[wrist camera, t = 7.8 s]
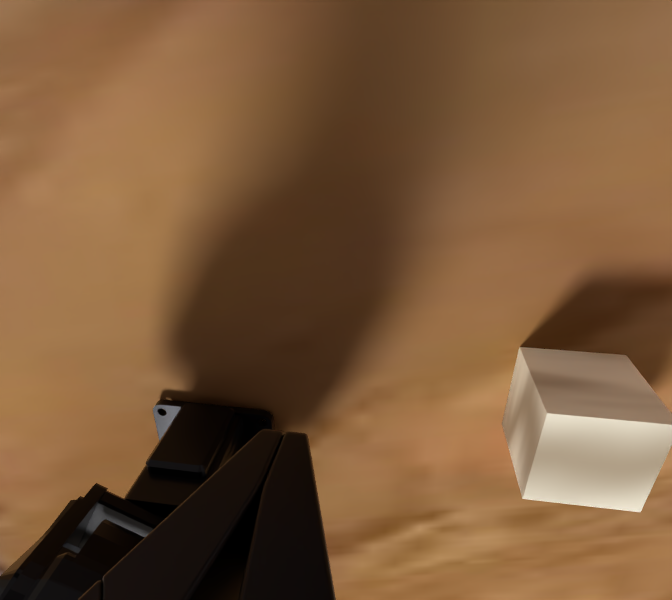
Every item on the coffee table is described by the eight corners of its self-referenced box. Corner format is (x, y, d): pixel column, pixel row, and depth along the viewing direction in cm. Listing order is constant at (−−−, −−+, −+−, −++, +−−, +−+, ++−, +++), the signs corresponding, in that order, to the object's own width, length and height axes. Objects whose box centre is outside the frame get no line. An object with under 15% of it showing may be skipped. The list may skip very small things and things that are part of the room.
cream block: (597, 431, 22) (640, 512, 18) (501, 422, 22) (522, 498, 18) (625, 354, 20) (680, 425, 16) (519, 345, 20) (546, 413, 16)
